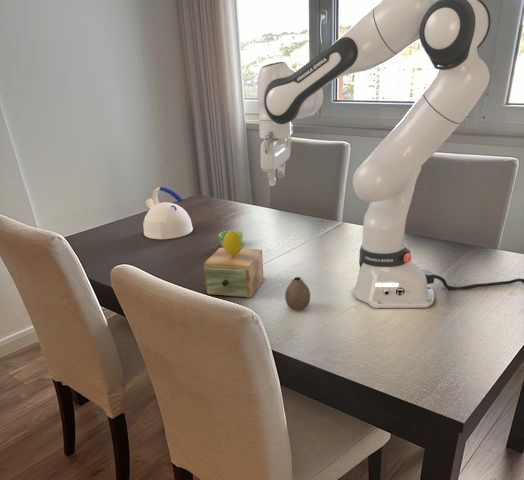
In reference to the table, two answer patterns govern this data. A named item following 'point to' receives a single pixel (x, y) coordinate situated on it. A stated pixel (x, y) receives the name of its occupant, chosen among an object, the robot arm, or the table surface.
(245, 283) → the drawer
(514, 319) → the table surface
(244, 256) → the cabinet
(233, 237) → the lemon
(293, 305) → the vase
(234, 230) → the ramekin
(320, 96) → the robot arm
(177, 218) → the kettle
